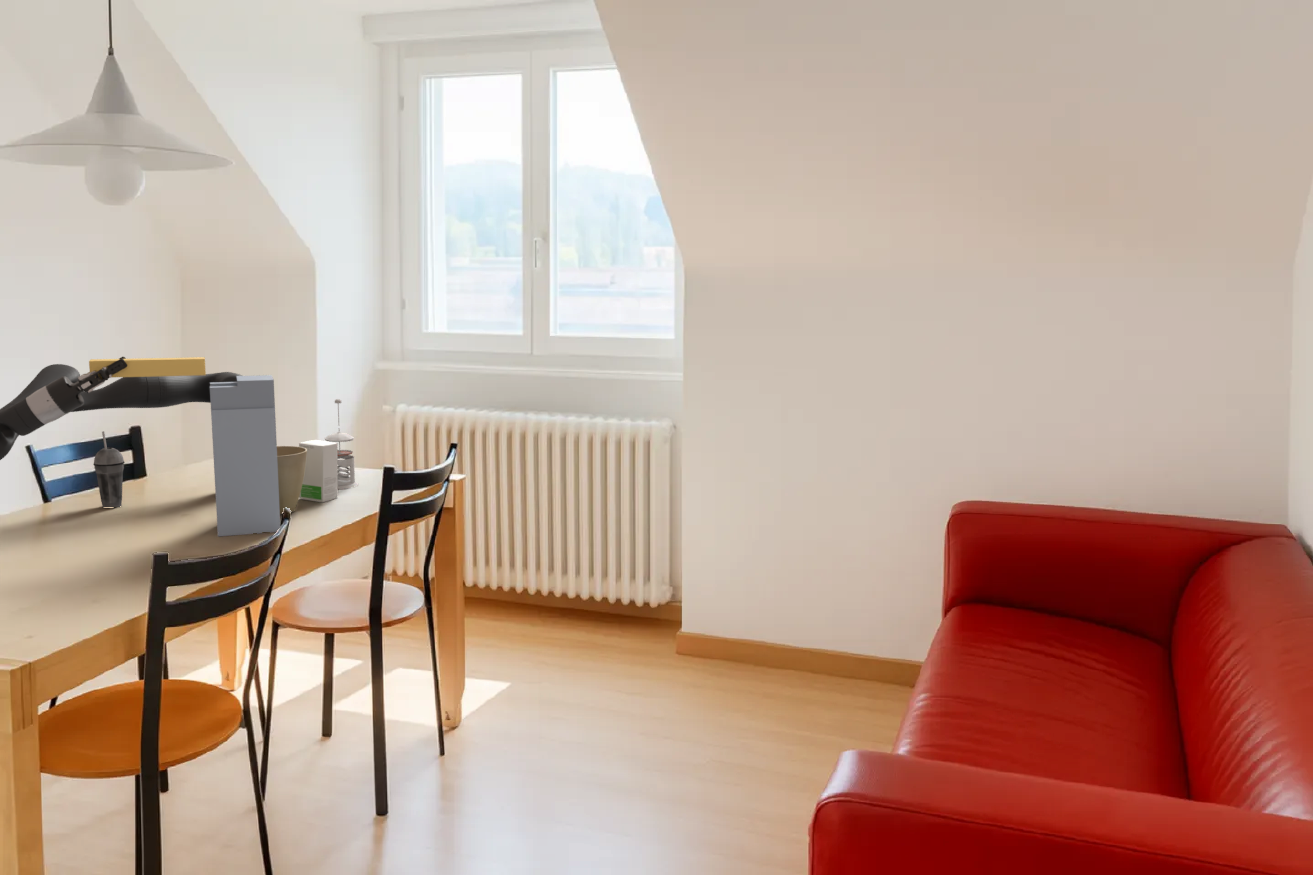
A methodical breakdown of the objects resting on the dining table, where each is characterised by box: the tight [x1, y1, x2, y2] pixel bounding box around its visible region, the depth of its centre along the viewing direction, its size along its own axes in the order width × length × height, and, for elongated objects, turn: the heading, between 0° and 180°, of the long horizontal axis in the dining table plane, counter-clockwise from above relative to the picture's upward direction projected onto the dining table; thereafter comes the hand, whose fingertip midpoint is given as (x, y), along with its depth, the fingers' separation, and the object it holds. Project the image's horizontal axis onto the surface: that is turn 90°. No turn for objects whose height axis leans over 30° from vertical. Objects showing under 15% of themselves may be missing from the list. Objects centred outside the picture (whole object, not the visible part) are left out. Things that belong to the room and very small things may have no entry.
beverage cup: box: [93, 431, 125, 508], centre depth 285 cm, size 7×7×20 cm
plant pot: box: [277, 445, 307, 515], centre depth 283 cm, size 15×15×16 cm
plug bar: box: [88, 356, 207, 378], centre depth 253 cm, size 24×4×4 cm, turn 112°
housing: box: [210, 374, 281, 537], centre depth 264 cm, size 14×11×37 cm
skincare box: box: [298, 439, 339, 503], centre depth 298 cm, size 8×7×16 cm
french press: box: [324, 398, 359, 490], centre depth 314 cm, size 10×12×25 cm
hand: (125, 361), depth 251 cm, fingers closed on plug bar, 3 cm apart
